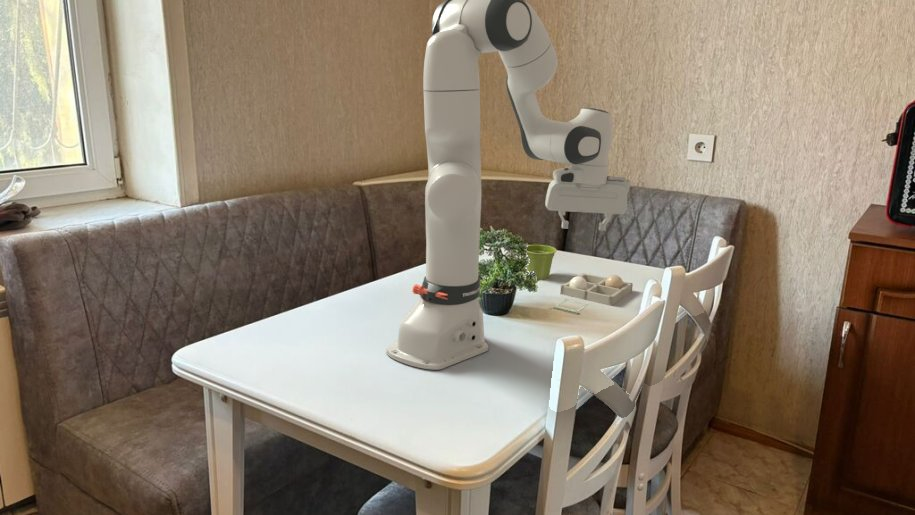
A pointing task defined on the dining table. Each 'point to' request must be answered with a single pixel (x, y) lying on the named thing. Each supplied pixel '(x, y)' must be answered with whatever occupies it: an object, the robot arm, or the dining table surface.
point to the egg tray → (597, 290)
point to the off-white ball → (578, 283)
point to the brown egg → (614, 282)
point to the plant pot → (540, 260)
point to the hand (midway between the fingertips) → (583, 229)
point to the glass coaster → (569, 309)
